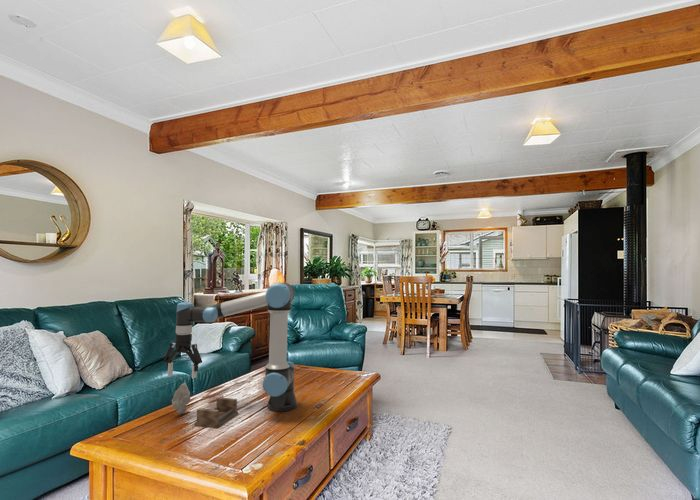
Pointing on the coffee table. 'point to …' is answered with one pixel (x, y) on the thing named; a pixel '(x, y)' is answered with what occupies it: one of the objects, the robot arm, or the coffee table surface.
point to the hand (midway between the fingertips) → (182, 377)
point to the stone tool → (181, 398)
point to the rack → (217, 413)
